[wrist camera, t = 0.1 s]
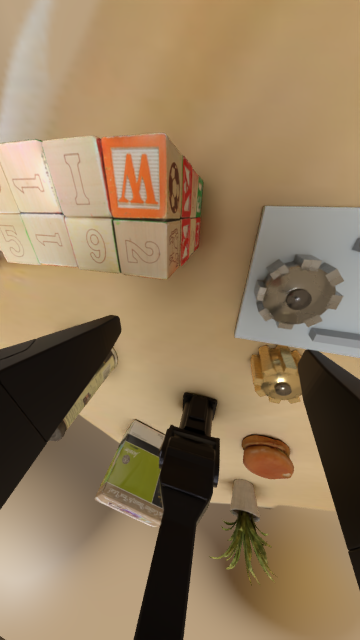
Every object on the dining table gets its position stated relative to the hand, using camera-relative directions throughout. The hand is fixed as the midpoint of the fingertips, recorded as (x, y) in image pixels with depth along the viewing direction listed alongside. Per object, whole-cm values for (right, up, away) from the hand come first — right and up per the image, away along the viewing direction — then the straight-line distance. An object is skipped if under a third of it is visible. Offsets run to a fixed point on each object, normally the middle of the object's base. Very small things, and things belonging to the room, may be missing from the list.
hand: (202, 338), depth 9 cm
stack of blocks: (-9, +14, +12) cm, 21 cm away
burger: (+17, -26, +29) cm, 43 cm away
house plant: (+16, -46, +41) cm, 63 cm away
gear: (+11, +4, +10) cm, 16 cm away
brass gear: (+13, -5, +17) cm, 22 cm away
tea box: (-8, -32, +40) cm, 52 cm away
